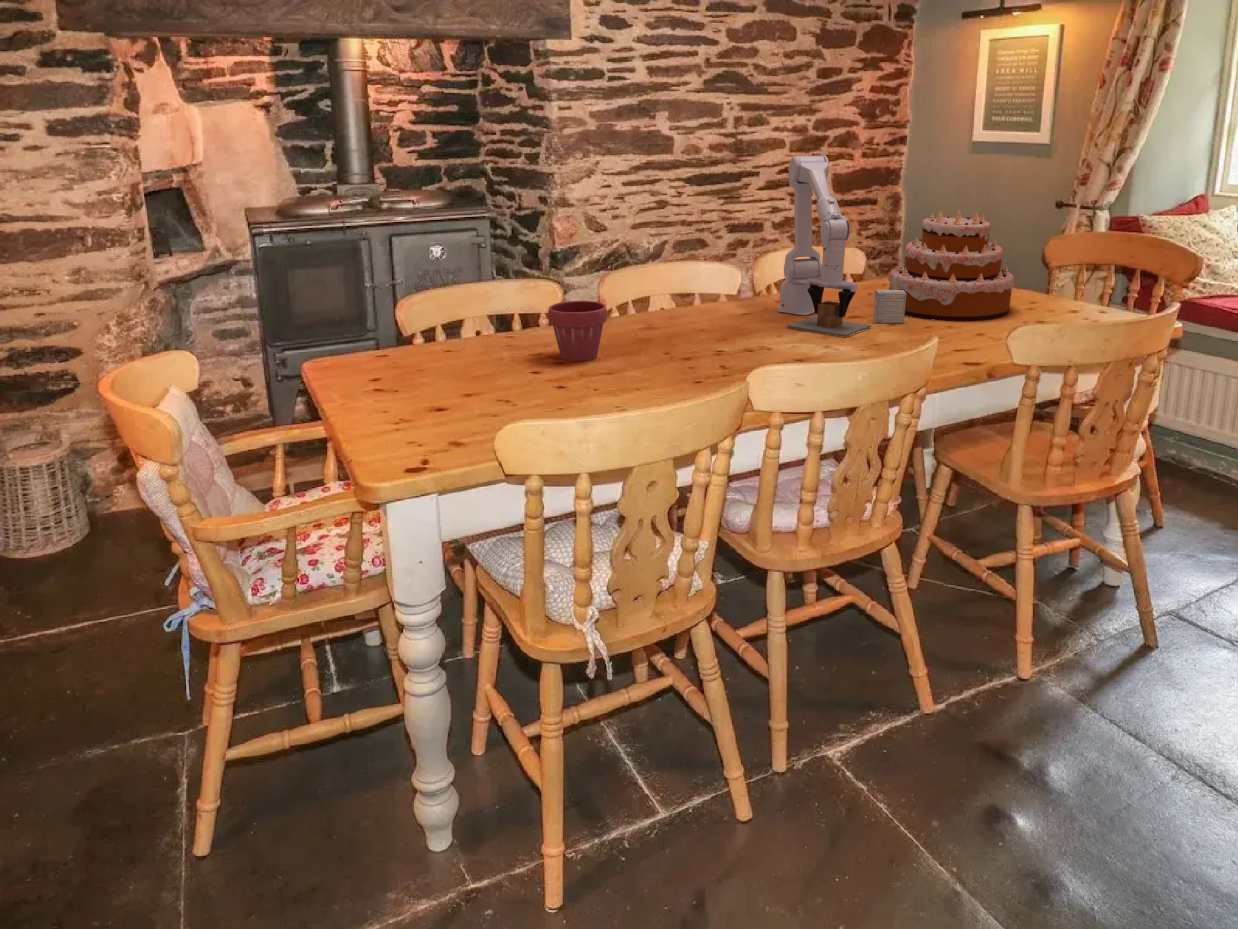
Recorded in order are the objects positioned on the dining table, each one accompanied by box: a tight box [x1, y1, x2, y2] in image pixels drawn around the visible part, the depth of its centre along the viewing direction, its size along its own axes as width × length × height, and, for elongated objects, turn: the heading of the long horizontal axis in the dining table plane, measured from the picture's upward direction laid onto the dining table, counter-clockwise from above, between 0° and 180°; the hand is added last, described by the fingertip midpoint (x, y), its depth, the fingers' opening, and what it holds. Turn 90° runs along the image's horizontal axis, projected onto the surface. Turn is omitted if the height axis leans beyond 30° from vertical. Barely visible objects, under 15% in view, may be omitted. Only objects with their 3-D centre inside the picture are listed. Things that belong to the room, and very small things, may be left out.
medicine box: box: [873, 289, 906, 324], centre depth 280 cm, size 8×4×9 cm, turn 84°
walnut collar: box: [816, 300, 844, 328], centre depth 274 cm, size 5×5×6 cm
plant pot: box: [547, 300, 608, 362], centre depth 248 cm, size 14×14×13 cm
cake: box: [888, 210, 1015, 322], centre depth 292 cm, size 35×35×28 cm
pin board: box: [786, 316, 872, 338], centre depth 275 cm, size 18×14×4 cm
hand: (829, 314), depth 274 cm, fingers open, 7 cm apart
